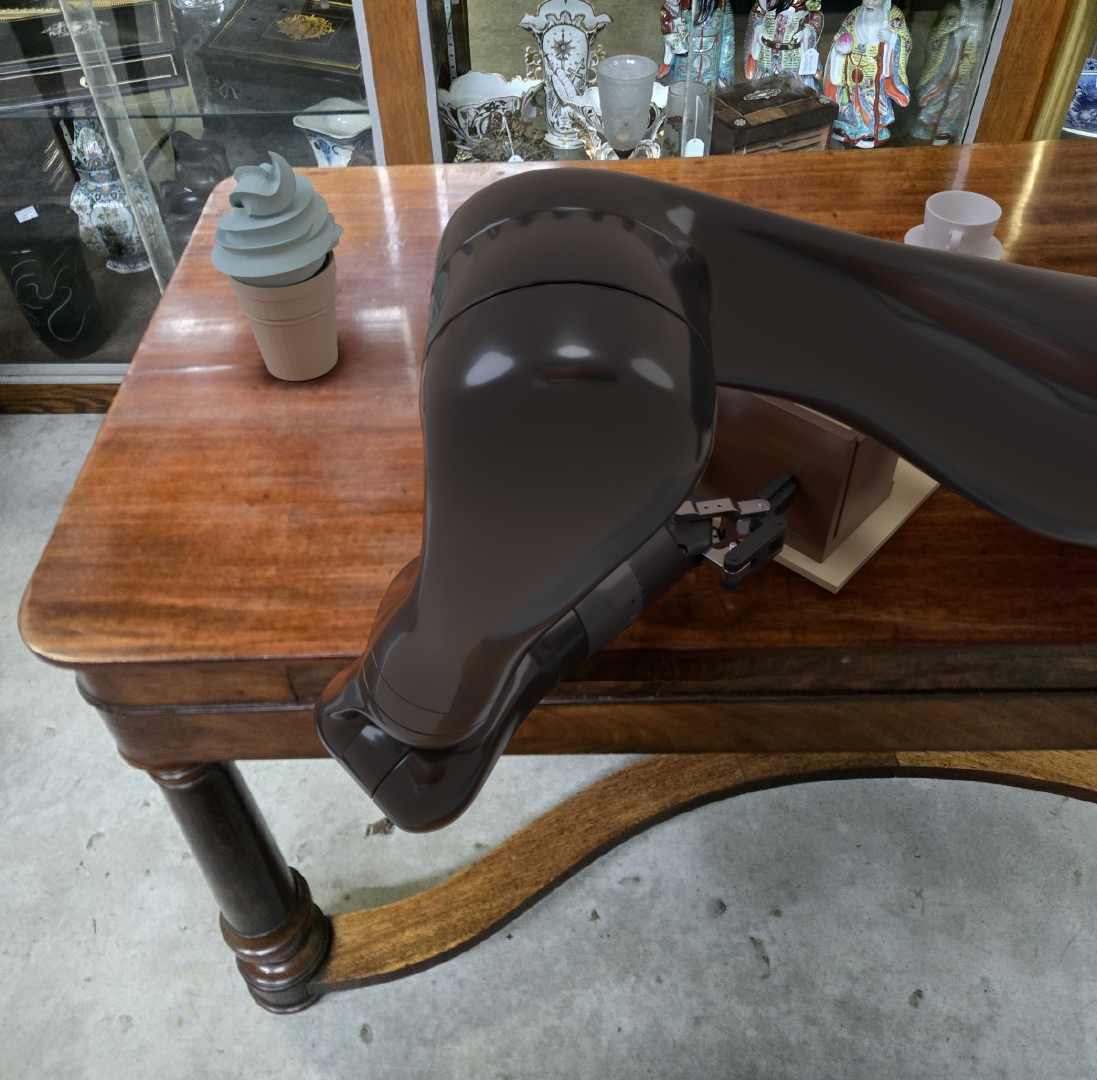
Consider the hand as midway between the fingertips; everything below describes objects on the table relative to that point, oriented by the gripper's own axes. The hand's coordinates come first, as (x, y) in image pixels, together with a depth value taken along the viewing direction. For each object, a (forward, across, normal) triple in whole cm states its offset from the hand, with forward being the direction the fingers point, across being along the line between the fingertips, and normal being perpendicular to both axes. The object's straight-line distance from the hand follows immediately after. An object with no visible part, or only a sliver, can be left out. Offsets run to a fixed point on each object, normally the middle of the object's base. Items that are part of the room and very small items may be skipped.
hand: (739, 456), depth 75 cm
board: (+13, 0, +7) cm, 14 cm away
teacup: (+50, +7, +7) cm, 51 cm away
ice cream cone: (-8, +42, +7) cm, 43 cm away
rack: (+5, 0, +6) cm, 8 cm away
